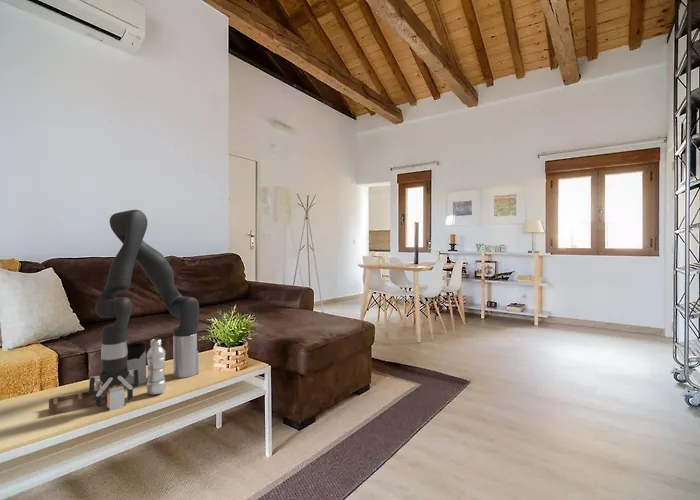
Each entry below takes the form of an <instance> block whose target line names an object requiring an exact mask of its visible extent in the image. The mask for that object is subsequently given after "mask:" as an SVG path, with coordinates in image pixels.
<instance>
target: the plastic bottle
mask: <svg viewBox="0 0 700 500" xmlns="http://www.w3.org/2000/svg"><path fill="white" fill-rule="evenodd" d="M149 344H150V345H149V346H150V348H149V349H148V351H146V364H147V369H148V371H147V373H148V375H147V382H146V392H147V394H148V395H151V396H154V395H160V394H162V393H164V392H165V391H166V387H167V383H166V377H165V361H166V350H165V348H163V346H162V338H153V339H150V343H149Z"/></svg>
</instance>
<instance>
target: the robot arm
mask: <svg viewBox="0 0 700 500" xmlns="http://www.w3.org/2000/svg"><path fill="white" fill-rule="evenodd" d="M109 225H110V228H111V230H112V232H113V233H114V235H115V236H116V237H117V239H118V240H119V241H120V242H121V243H122V245H121V247H120V249H119V251H118V252H117V254H116V255H115V257H114V258H113V260H112V262H111V264H110V267H109V270H108V275H107V279H106V284H105V286H104V288H103V290H102V291H101V294H100V295H99V296H98V299H97V301H96V304H95V313H96V315H97V317H99V318H102V319H116V320H115V322H114V323H112V324H107V325H105V326H103V328H102V330H101V348H100V372H101V373H100V374H99V375H96V376H95V375H90V376H89V380H88V381H89V383H88V384H89V385H88V391H89V395H90V396H96V406H97V407H98V408H102V404H101V393H102V392H103V391H104V390H105V389H106V387H107V386H108V387H112V386H115V385H119V386H121V385H122V384H124V385H125V386H124V387H126V388H127V391H126V393H127V396H126V397H127V402H129V401H131V399H132V398H133V395H134V392H133V391H134V390H133V389H134V388H136V387H138V386H140V385H139V380H138V370H137V368H134V369H133V370H128V369H127V354H128V351H127V345H128V344H127V328H128V324H129V320H130V318H131V315H132V310H133V303H132V300H131V299H130V298H129V297H125V296H117V295H118V294H120V293H123V292H126V291H129V289H130V287H131V281H132V277H133V271H134V266H135V263H136V262H137V263H138V265H139V266H140V268H141V269H142V272H143V273H144V274H145V276H146V277H147V278H148V280H149V281H150V282H151V284H152V285H153V286H154V288H155V290H156V291H157V292H158V294H159V295H160V297H161V299H162V301H163V302H164V304H165V307H166V308H167V310H168V312H169V313H170V315H171V316H172V317H175V318H177V319H180V320H179V325H178V326H176V327H174V328H173V330H172V336H173V337H172V338H173V340H172V342H173V348H172V349H173V350H172V354H173V363H172V364H173V377H174V378H178V379H179V378H190V377H194V376H195V375H197V374H199V372H200V371H199V362H200V361H199V350H198V334H197V333H198V331H197V330H198V329H199V324H200V323H199V322H200V304H199V301H198V300H197V298H195V297H191V296H183V295H182V294H181V293H180V291H179V290H178V289H177V287H176V285H175V279H174V278H175V276H174V270H173V268H172V266H171V264H170V263H169V261H168V260H167V258H166V256H164V255H163V254H162V253H161V252H159V251H158V250H156V249H155V247H152V246H150V245H149V244H148V243H147V242H145V241H144V237H145V234H146V233H147V229H148V218H147V216H146V214H145V213H144V212H143V211H141V210H139V209H129V210H124V211H121V212H116V213H113V214H112V215H111V216H110V218H109ZM129 374H131V375H132V376H133V378H134V383H132V384H130V383H129V382H128V381H127V380H126V377H127V376H128V375H129ZM99 379H100V380H101V381H102V382H103V383H102V384H101V385H100V387H99V388H98V390H97V391H94V389H95V384H96V383H97V380H99ZM96 406H95V407H96Z"/></svg>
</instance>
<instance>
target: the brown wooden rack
mask: <svg viewBox="0 0 700 500" xmlns="http://www.w3.org/2000/svg"><path fill="white" fill-rule="evenodd" d="M102 383H103V382H102V381H101V380H100V379H99V380H97V383H95V388H94V391H97V390H98V388H99V387H100V385H101V384H102ZM116 387H120V385H115V386H112V387H108V386H107V387H106V389H105V390H104V391H103V392H102V393H101V405H105V404H106V391H108V389H111V388H116ZM90 407H96V396H90V395H89V390H85V391H81V392H75V393H69V394H65V395H59V396H56V397H50V398H48V410H47V411H48V417H51V416H56V415H60V414H64V413H68V412H74V411H78V410H81V409H87V408H90Z"/></svg>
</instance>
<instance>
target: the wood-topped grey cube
mask: <svg viewBox="0 0 700 500" xmlns="http://www.w3.org/2000/svg"><path fill="white" fill-rule="evenodd" d="M105 404H106V407H107V409H108V410H109V411H113V410H114V411H115V410H118V409H122V408H125V388H124V386H123V385H122V386H121V385H119V387H116V388H111V389H108V391H106V403H105Z"/></svg>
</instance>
